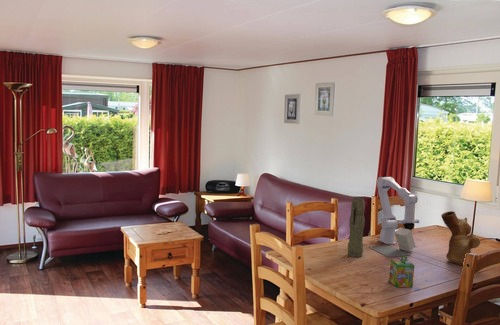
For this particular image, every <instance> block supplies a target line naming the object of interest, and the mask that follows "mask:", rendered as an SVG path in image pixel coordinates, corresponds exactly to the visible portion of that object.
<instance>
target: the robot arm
mask: <svg viewBox="0 0 500 325" xmlns="http://www.w3.org/2000/svg"><path fill="white" fill-rule="evenodd" d="M376 185H377V186H376V187H377V190H378V192H377V193H378V195H379V200H380V205H381V210H382V214H383V216H382V218H381V223H380V224H381V229H380V236H379V239H378V241H379V242H381V243H384V244H385V245H394V244H397V245H398V242H397V241H395V239H396V235H395V232H396V231H397V228H399V225H402V226H403V228H405V229H409V230H411V231H413V228H414V227H415V224H420V220H419V219H415V210H416V209H415V208H416V203H418V199H419V198H418V196H417V195H416V194H415V193H412V192H410V191H409V190H407V188H406V187H401V186H400V185H399V184H398V183H397V182H396V180H395V178H393V177H392V176H384V177H383V176H379V177H378V178H377V180H376ZM390 188H392V189H393V190H395V191H396V192H397V195H398V196H399V197H400V198H401V199H402V200H403V203H404V219H402V220H398V219H397V218H396V216H395V215H394V214H393V213H392V208H391V204H390V199H389V195H388V191H389V190H390Z"/></svg>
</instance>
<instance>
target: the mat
mask: <svg viewBox="0 0 500 325" xmlns="http://www.w3.org/2000/svg"><path fill="white" fill-rule="evenodd" d="M368 248H369V249H371V250H373V251H375V252H378V253H379V254H380V255H382V256H385V257H387V258H396V257H402V255H404V256H406V257H407V256H411V254H409V253H408V252H405V251H404V250H403V251H402V249H399V248H396V247H394V246H393V245H379V246H368Z"/></svg>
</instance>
